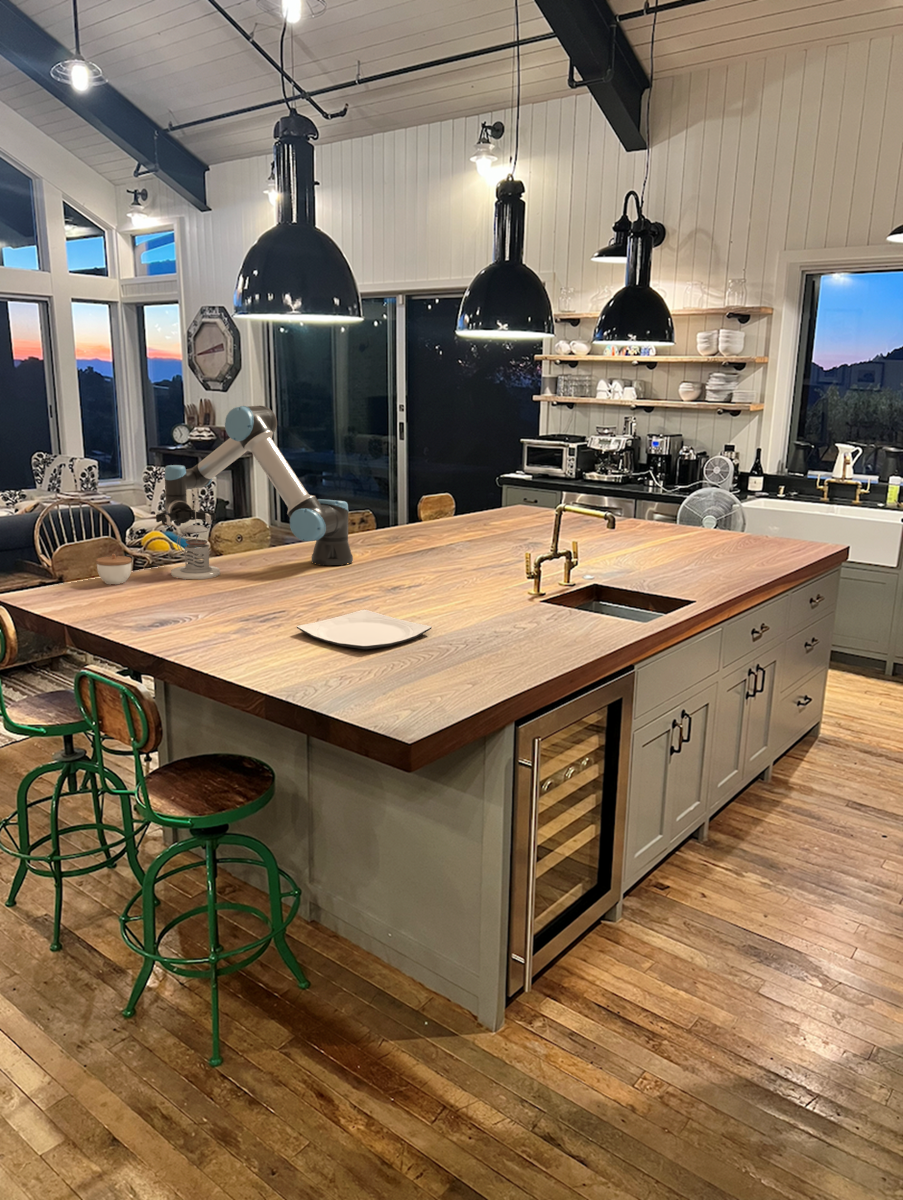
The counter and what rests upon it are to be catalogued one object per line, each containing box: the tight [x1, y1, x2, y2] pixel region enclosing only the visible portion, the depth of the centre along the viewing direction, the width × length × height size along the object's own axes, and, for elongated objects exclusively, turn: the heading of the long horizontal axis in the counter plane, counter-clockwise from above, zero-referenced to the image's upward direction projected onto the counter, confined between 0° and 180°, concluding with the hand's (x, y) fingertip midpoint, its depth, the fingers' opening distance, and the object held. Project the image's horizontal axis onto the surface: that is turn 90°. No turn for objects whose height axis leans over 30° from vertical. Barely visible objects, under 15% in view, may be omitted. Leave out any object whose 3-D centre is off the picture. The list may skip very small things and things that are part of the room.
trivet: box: [170, 565, 221, 580], centre depth 311 cm, size 16×16×2 cm
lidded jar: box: [95, 553, 133, 585], centre depth 296 cm, size 11×11×9 cm
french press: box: [176, 495, 213, 573], centre depth 308 cm, size 10×12×25 cm
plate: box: [296, 609, 432, 650], centre depth 247 cm, size 29×29×3 cm
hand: (189, 520), depth 315 cm, fingers open, 13 cm apart
